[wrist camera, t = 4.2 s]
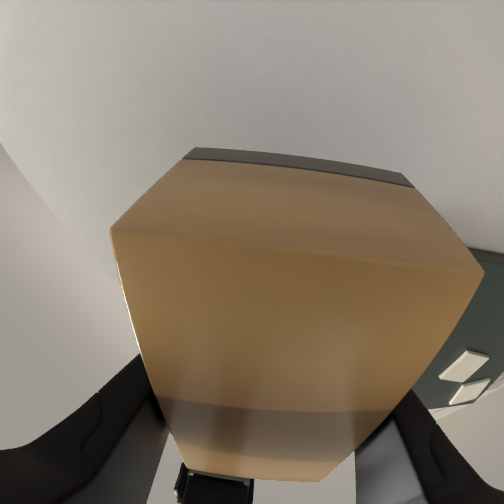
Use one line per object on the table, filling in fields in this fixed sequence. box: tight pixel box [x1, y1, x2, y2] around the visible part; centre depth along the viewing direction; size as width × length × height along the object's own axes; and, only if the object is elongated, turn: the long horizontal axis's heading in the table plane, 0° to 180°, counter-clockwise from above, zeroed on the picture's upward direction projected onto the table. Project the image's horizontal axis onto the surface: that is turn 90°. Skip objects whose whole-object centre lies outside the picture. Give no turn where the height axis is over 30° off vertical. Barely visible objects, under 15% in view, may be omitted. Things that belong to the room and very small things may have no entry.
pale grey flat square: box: [449, 378, 490, 405], centre depth 24 cm, size 4×4×1 cm
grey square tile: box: [439, 350, 489, 382], centre depth 22 cm, size 4×4×1 cm
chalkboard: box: [412, 249, 504, 409], centre depth 22 cm, size 20×20×2 cm
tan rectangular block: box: [110, 147, 484, 482], centre depth 8 cm, size 10×5×4 cm, turn 176°
